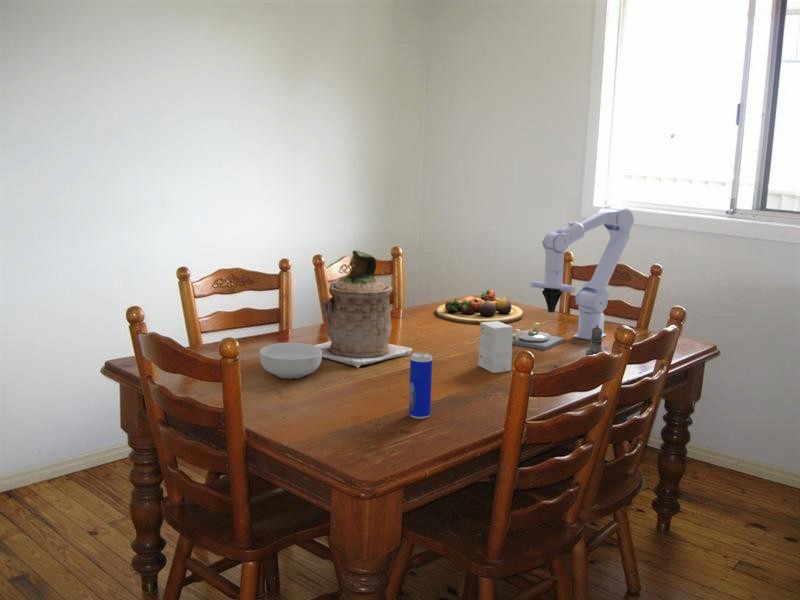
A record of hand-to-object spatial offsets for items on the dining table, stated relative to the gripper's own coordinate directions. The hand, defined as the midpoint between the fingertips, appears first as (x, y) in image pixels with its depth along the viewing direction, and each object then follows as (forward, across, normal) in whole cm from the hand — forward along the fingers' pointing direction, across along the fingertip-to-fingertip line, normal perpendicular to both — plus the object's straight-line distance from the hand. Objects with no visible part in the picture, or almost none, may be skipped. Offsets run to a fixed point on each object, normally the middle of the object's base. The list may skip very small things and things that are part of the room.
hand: (551, 311), depth 273 cm
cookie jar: (+10, -39, -51) cm, 65 cm away
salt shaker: (+10, +22, -16) cm, 29 cm away
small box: (+10, +1, -39) cm, 40 cm away
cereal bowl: (+10, -40, -80) cm, 90 cm away
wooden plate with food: (+11, -38, +20) cm, 44 cm away
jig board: (+10, -4, -4) cm, 11 cm away
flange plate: (+8, -5, -4) cm, 11 cm away
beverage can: (+10, +6, -86) cm, 87 cm away
